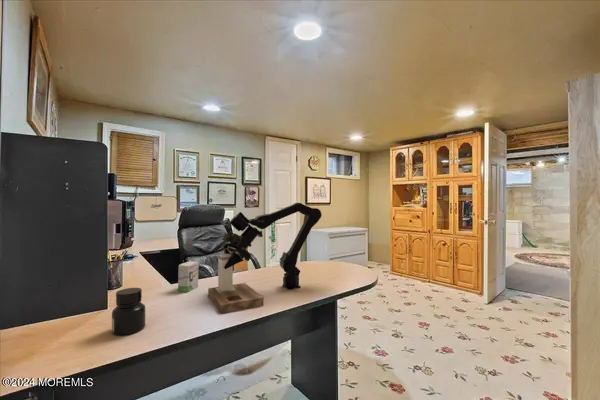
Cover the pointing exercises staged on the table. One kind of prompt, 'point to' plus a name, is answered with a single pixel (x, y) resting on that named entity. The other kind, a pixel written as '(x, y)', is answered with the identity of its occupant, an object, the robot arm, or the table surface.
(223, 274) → the plug
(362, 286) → the table surface
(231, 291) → the board
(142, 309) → the ink bottle
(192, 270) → the ink box
